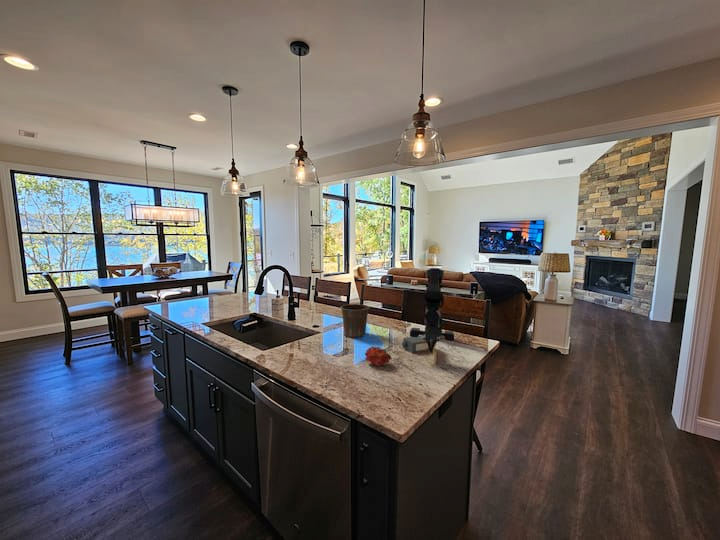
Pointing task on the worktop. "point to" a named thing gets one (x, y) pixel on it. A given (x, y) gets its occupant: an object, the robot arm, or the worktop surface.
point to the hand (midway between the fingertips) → (431, 353)
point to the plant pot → (354, 319)
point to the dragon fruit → (377, 356)
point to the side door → (435, 354)
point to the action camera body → (415, 344)
